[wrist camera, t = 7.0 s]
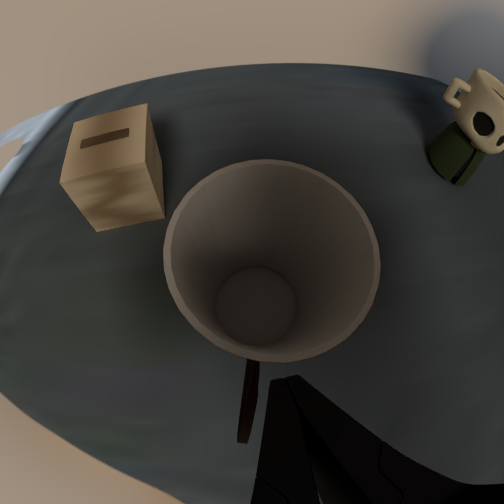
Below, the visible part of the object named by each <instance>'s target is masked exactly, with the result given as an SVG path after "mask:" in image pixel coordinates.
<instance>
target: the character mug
mask: <svg viewBox="0 0 504 504" xmlns="http://www.w3.org/2000/svg"><path fill="white" fill-rule="evenodd" d="M459 88H460V89H462V92H461V93H460V95H459V96H458V98H457V99H455V98H453V96H454V95H455V93H456V92H457V90H458V89H459ZM443 100H444V101H445V102H446V103H448V104H449V105H451V106H453V108H452V112H453V116H454V118H455V120H456V121H455V122H453V123H451V124H450V125H449V126H448V127H447V128H446V129H445V130H444V131H443V132H442V133H441V134H440V135H439V136H438V137H437V138H436V139H435V140H434V141H433V142H432V143H431V144H430V148H429V154H430V158H431V162H432V164H433V165H434V167H435V168H436V170H437V171H438V173H440V174H441V175H442V176H443V177H444V178H445V179H446V180H448V181H450V180H451V179H452V177H453V176H456V177H460V178H459V180H458V181H457V182H456V184H455V185H464V184H465V183H466V182H467V181H468V180H469V179H470V177H471V176H472V175H473V173H474V172H475V171H476V169H477V168H478V166H479V165H480V163H481V161H482V160H483V158H484V157H485V154H486V153H489V154H495V153H500V152H501V151H502V150H504V85H503V84H502V83H501V82H500V81H499V80H498V79H496V78H495V77H494V76H493V75H491V74H489V73H488V72H486V71H485V70H483V69H480V68H477V69H476V70H475V71H474V72H473V74H472V75H471V77H470V79H469V80H468V82H467V83H466V82H464V81H462V80H461V79H458V78H454V79H453V80H452V82H451V83H450V85H449V86H448V88H447V90H446V91H445V93H444V95H443Z"/></svg>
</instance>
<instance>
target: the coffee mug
mask: <svg viewBox="0 0 504 504" xmlns="http://www.w3.org/2000/svg"><path fill="white" fill-rule="evenodd" d="M163 261H164V272H165V276H166V280H167V284H168V288H169V291H170V293H171V295H172V297H173V299H174V301H175V303H176V305H177V307H178V309H179V311H180V312H181V313H182V314H183V316H184V317H185V318H186V319H187V321H188V322H189V323H190V324H191V325H192V327H193V328H194V329H195V330H196V331H197V332H199V333H200V334H201V335H202V336H204V337H205V338H206V339H207V340H209V341H210V342H211V343H213V344H214V345H216V346H218V347H220V348H222V349H224V350H226V351H228V352H230V353H232V354H234V355H236V356H239V357H243V358H247V363H246V371H245V378H244V386H243V393H242V401H241V408H240V416H239V425H238V433H237V442H238V443H245V444H247V443H248V440H249V436H250V433H251V428H252V424H253V419H254V414H255V410H256V404H257V398H258V382H259V362H274V363H288V362H294V361H299V360H304V359H310V358H312V357H314V356H317V355H319V354H322V353H324V352H326V351H329V350H331V349H332V348H334V347H335V346H337V345H338V344H340V343H341V342H342V341H344V340H345V339H346V338H348V337H349V336H350V335H351V334H352V333H353V332H354V331H355V330H356V328H357V327H358V326H359V325H360V324H361V323H362V322H363V320H364V319H365V317H366V315H367V313H368V312H369V310H370V308H371V306H372V304H373V302H374V299H375V296H376V293H377V289H378V286H379V280H380V268H381V262H380V253H379V245H378V242H377V239H376V236H375V233H374V230H373V227H372V225H371V223H370V221H369V219H368V217H367V216H366V214H365V212H364V210H363V209H362V208H361V206H360V205H359V204H358V203H357V201H356V200H355V199H354V198H353V196H352V195H351V194H350V193H348V192H347V191H346V190H345V189H344V188H343V187H342V186H341V185H340V184H338V183H337V182H335V181H334V180H332V179H331V178H329V177H328V176H326V175H325V174H323V173H321V172H319V171H316V170H314V169H312V168H310V167H307V166H305V165H301V164H297V163H294V162H290V161H284V160H274V159H260V160H248V161H244V162H239V163H235V164H231V165H229V166H227V167H224V168H222V169H219V170H217V171H215V172H213V173H212V174H210V175H208V176H207V177H205V178H204V179H202V180H201V181H199V182H198V183H197V184H196V185H195V186H194V187H193V188H192V189H191V190H190V191H189V192H188V193H187V194H186V195H185V196H184V197H183V199H182V200H181V202H180V203H179V205H178V206H177V207H176V209H175V211H174V213H173V215H172V217H171V220H170V222H169V224H168V227H167V231H166V236H165V241H164V246H163Z"/></svg>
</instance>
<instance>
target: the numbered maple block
mask: <svg viewBox="0 0 504 504" xmlns="http://www.w3.org/2000/svg"><path fill="white" fill-rule="evenodd" d="M60 184H61V185H62V187H63V188H64V190H65V191H66V192H67V194H68V195H69V196H70V198H71V199H72V200H73V202H74V203H75V204H76V206H77V207H78V208H79V210H80V211H81V212H82V214H83V215H84V216H85V217H86V219H87V220H88V221H89V223H90V224H91V225H92V226H93V228H94V229H95V230H96V231H97V232H98V231H103V230H108V229H113V228H118V227H123V226H128V225H133V224H138V223H143V222H149V221H154V220H160V219H165V211H164V196H163V177H162V161H161V157H160V153H159V150H158V146H157V142H156V138H155V134H154V130H153V126H152V122H151V118H150V113H149V109H148V105H147V104H143V105H138V106H134V107H129V108H125V109H121V110H117V111H113V112H109V113H105V114H102V115H98V116H94V117H91V118H88V119H84V120H81V121H78V122H75V123H74V126H73V129H72V133H71V136H70V140H69V144H68V147H67V151H66V156H65V160H64V164H63V169H62V173H61V178H60Z"/></svg>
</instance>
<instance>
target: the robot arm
mask: <svg viewBox="0 0 504 504" xmlns="http://www.w3.org/2000/svg"><path fill="white" fill-rule="evenodd" d="M317 491H318V493H319V495H320V497H321V500H322V502H323V504H504V484H488V485H472V484H465V483H461V482H458V481H455V480H453V479H450V478H448V477H446V476H444V475H441V474H439V473H437V472H435V471H433V470H431V469H429V468H427V467H425V466H423V465H421V464H419V463H417V462H415V461H413V460H411V459H410V458H408V457H406V456H405V455H403V454H401V453H400V452H398V451H397V450H395V449H394V448H392V447H391V446H390V445H388V444H387V443H386V442H384V441H382V440H381V439H380V438H378V437H377V436H376V435H374V434H373V433H372V432H370V431H369V430H368V429H366V428H365V427H364V426H362V425H361V424H360V423H358V422H357V421H356V420H354V419H353V418H352V417H351V416H349V415H348V414H347V413H345V412H344V411H343V410H342V409H340V408H339V407H338V406H336V405H335V404H334V403H333V402H331V401H330V400H329V399H328V398H326V397H325V396H324V395H323V394H321V393H320V392H319V391H318V390H317V389H315V388H314V387H313V386H312V385H310V384H309V383H308V382H307V381H306V380H304V379H303V378H302V377H301V376H299V375H293V376H288V377H286V378H285V379H284V378H279V379H274V380H271V381H270V385H269V393H268V400H267V407H266V414H265V421H264V428H263V435H262V441H261V448H260V454H259V461H258V467H257V473H256V478H255V484H254V490H253V494H252V499H251V503H250V504H320V502H319V497H318V493H317Z"/></svg>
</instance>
